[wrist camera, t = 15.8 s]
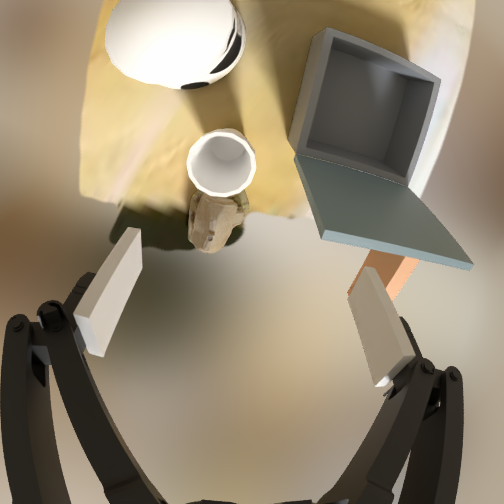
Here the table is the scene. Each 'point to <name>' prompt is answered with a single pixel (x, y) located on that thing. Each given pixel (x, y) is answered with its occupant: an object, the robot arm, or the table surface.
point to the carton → (362, 107)
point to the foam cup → (221, 162)
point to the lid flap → (377, 221)
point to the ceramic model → (214, 219)
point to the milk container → (175, 41)
